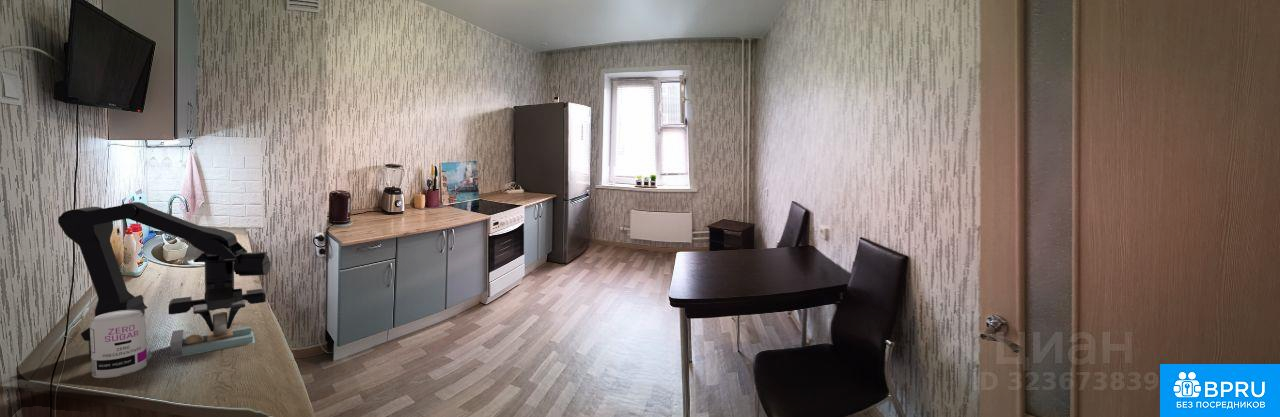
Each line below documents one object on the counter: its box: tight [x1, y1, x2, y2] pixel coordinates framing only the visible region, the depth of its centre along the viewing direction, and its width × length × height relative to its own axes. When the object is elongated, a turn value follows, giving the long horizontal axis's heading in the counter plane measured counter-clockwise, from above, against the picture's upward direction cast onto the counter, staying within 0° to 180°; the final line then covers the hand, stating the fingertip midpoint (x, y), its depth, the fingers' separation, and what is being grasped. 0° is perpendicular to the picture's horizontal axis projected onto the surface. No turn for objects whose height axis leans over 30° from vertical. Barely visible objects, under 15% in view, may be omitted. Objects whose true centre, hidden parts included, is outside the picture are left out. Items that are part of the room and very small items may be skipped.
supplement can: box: [89, 310, 148, 379], centre depth 98 cm, size 8×8×15 cm
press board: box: [170, 325, 256, 359], centre depth 114 cm, size 16×10×3 cm, turn 137°
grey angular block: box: [169, 329, 185, 358], centre depth 109 cm, size 2×9×4 cm, turn 47°
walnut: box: [184, 333, 203, 346], centre depth 111 cm, size 4×4×4 cm
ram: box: [207, 311, 234, 342], centre depth 114 cm, size 5×5×8 cm
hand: (220, 329), depth 114 cm, fingers closed on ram, 3 cm apart
